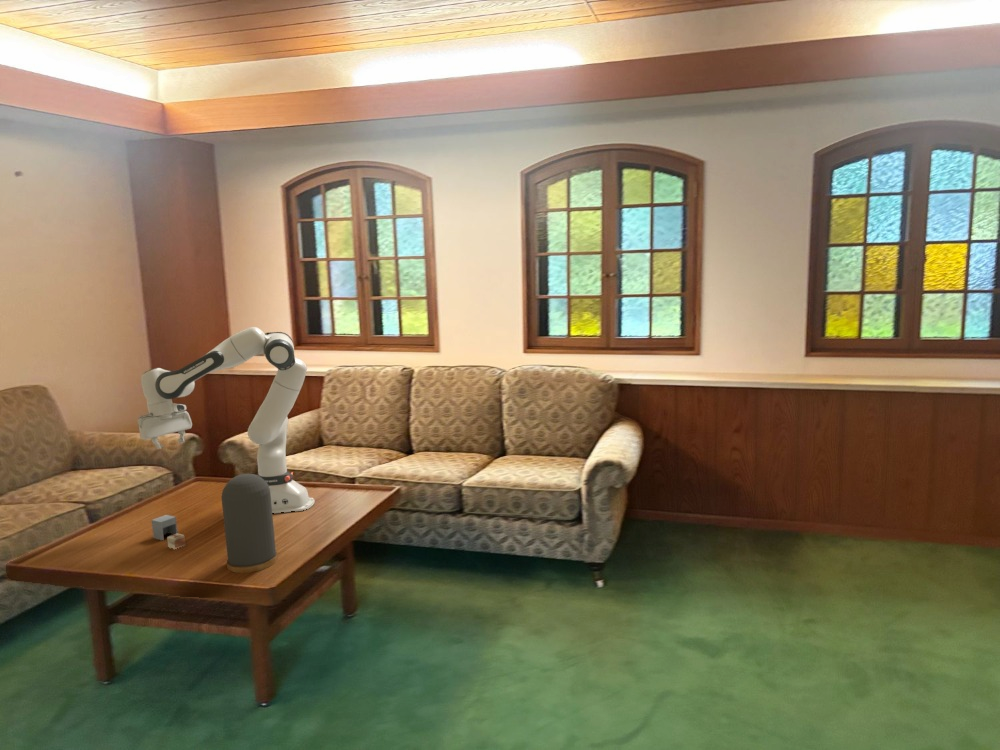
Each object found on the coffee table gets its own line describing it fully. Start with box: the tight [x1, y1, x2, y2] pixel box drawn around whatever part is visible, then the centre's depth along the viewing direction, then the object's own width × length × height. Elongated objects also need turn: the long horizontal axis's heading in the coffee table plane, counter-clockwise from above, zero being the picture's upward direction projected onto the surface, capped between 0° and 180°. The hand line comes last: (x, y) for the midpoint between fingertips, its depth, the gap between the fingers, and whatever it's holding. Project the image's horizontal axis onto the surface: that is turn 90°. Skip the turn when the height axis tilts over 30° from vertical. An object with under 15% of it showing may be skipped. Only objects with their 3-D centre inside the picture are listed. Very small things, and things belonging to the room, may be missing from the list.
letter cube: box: [166, 532, 186, 550], centre depth 246 cm, size 4×4×4 cm
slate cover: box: [151, 514, 179, 541], centre depth 256 cm, size 6×6×7 cm
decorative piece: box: [220, 473, 279, 574], centre depth 228 cm, size 16×16×30 cm
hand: (171, 445), depth 266 cm, fingers open, 8 cm apart
